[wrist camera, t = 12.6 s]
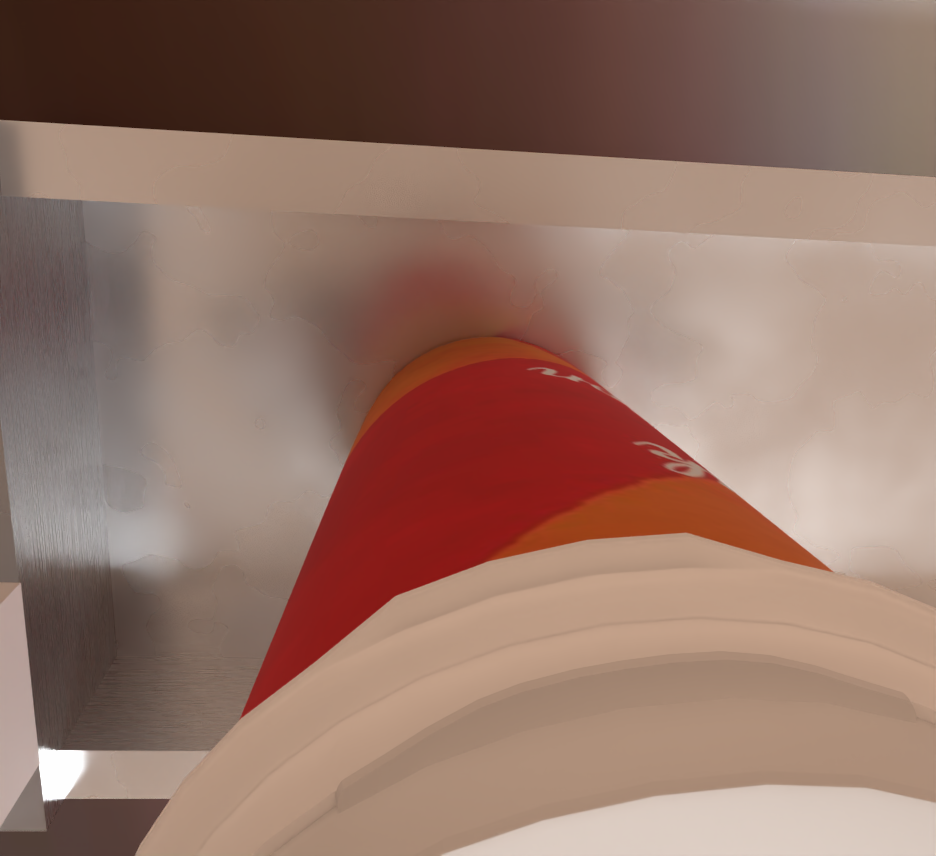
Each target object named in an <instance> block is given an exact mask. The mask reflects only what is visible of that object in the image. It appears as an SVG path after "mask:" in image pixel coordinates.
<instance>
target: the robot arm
mask: <svg viewBox="0 0 936 856" xmlns="http://www.w3.org/2000/svg"><path fill="white" fill-rule="evenodd" d="M39 764H40V763H39V753H38V743H37V734H36V724H35V714H34V705H33V695H32V686H31V676H30V666H29V657H28V647H27V637H26V628H25V618H24V609H23V599H22V589H21V583H7V582H0V827H1V825H2V824H3V822H4V820H5V819H6V817H7V816H8V814H9V812H10V811H11V809H12V807H13V806H14V804H15V803H16V801H17V799H18V798H19V796H20V794H21V793H22V791H23V790H24V788H25V786H26V785H27V783H28V782H29V780H30V778H31V777H32V775H33V773H34V772H35V770H36V769H37V767H38V765H39Z"/></svg>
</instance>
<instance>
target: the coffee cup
mask: <svg viewBox="0 0 936 856" xmlns="http://www.w3.org/2000/svg"><path fill="white" fill-rule="evenodd" d="M135 856H936V608H934V607H932V606H930V605H927V604H925V603H922V602H920V601H918V600H915V599H913V598H910V597H908V596H906V595H903V594H901V593H898V592H896V591H893V590H891V589H889V588H886V587H884V586H881V585H879V584H877V583H874V582H872V581H869V580H864V579H860V578H856V577H851V576H847V575H843V574H838V573H835V572H833V571H832V570H831V569H830V568H828V567H827V566H826V565H825V564H823V563H822V562H821V561H820V560H818V559H817V558H816V557H815V556H813V555H812V554H811V553H810V552H808V551H807V550H806V549H805V548H803V547H802V546H801V545H800V544H798V543H797V542H796V541H795V540H794V539H792V538H791V537H790V536H789V535H787V534H786V533H785V532H784V531H782V530H781V529H780V528H779V527H777V526H776V525H775V524H774V523H772V522H771V521H770V520H769V519H767V518H766V517H765V516H764V515H762V514H761V513H760V512H759V511H757V510H756V509H755V508H754V507H752V506H751V505H750V504H749V503H748V502H746V501H745V500H744V499H743V498H741V497H740V496H739V495H738V494H736V493H735V492H734V491H733V490H731V489H730V488H729V487H728V486H726V485H725V484H724V483H723V482H721V481H720V480H719V479H718V478H717V477H715V476H714V475H713V474H712V473H710V472H709V471H708V470H707V469H705V468H704V467H703V466H702V465H700V464H699V463H698V462H697V461H695V460H694V459H693V458H692V457H690V456H689V455H688V454H687V453H686V452H684V451H683V450H682V449H681V448H679V447H678V446H677V445H676V444H674V443H673V442H672V441H671V440H669V439H668V438H667V437H666V436H664V435H663V434H662V433H661V432H659V431H658V430H657V429H655V428H654V427H653V426H652V425H650V424H649V423H648V422H647V421H645V420H644V419H643V418H642V417H640V416H639V415H638V414H637V413H635V412H634V411H633V410H632V409H630V408H629V407H628V406H627V405H625V404H624V403H623V402H621V401H620V400H619V399H618V398H616V397H615V396H614V395H612V394H611V393H610V392H609V391H607V390H606V389H605V388H603V387H602V386H601V385H600V384H598V383H597V382H596V381H594V380H593V379H592V378H590V377H589V376H588V375H586V374H585V373H583V372H582V371H581V370H579V369H578V368H576V367H575V366H573V365H572V364H571V363H569V362H568V361H566V360H564V359H563V358H561V357H559V356H558V355H556V354H554V353H552V352H550V351H548V350H546V349H544V348H542V347H539V346H537V345H534V344H531V343H528V342H525V341H520V340H516V339H510V338H503V337H477V338H469V339H463V340H459V341H455V342H451V343H448V344H445V345H442V346H440V347H437V348H435V349H433V350H431V351H429V352H427V353H425V354H423V355H421V356H420V357H418V358H417V359H415V360H413V361H412V362H411V363H409V364H408V365H407V366H405V367H404V368H403V369H402V370H401V371H400V372H398V373H397V374H396V375H395V376H394V377H393V378H392V379H391V380H390V382H389V383H388V384H387V385H386V386H385V388H384V389H383V390H382V392H381V393H380V395H379V396H378V397H377V399H376V400H375V402H374V404H373V405H372V407H371V409H370V410H369V412H368V414H367V416H366V418H365V420H364V422H363V424H362V426H361V429H360V431H359V433H358V435H357V437H356V439H355V441H354V444H353V446H352V448H351V451H350V453H349V455H348V458H347V460H346V462H345V464H344V467H343V469H342V471H341V474H340V476H339V479H338V481H337V483H336V486H335V488H334V491H333V493H332V495H331V498H330V500H329V503H328V505H327V507H326V510H325V512H324V515H323V517H322V519H321V522H320V524H319V527H318V529H317V531H316V534H315V536H314V539H313V541H312V544H311V546H310V548H309V551H308V553H307V556H306V558H305V561H304V563H303V566H302V568H301V571H300V573H299V575H298V578H297V580H296V583H295V585H294V588H293V590H292V593H291V595H290V597H289V600H288V602H287V605H286V607H285V610H284V612H283V615H282V617H281V619H280V622H279V624H278V627H277V629H276V632H275V634H274V637H273V639H272V642H271V644H270V646H269V649H268V651H267V654H266V656H265V659H264V661H263V664H262V666H261V668H260V671H259V673H258V676H257V678H256V681H255V683H254V685H253V688H252V690H251V693H250V695H249V698H248V700H247V703H246V705H245V707H244V710H243V712H242V715H241V717H240V720H239V721H238V722H237V723H236V724H235V726H234V727H233V728H232V729H231V730H230V731H229V732H228V733H227V734H226V735H225V736H224V737H223V738H222V739H221V740H220V741H219V742H218V744H217V745H216V746H215V747H214V748H213V749H212V750H211V751H210V752H209V753H208V754H207V755H206V756H205V757H204V758H203V759H202V760H201V762H200V763H199V764H198V765H197V766H196V767H195V768H194V769H193V770H192V771H191V772H190V773H189V774H188V775H187V776H186V777H185V778H184V779H183V781H182V782H181V784H180V785H179V787H178V788H177V790H176V791H175V793H174V794H173V796H172V797H171V799H170V800H169V802H168V803H167V805H166V806H165V808H164V809H163V811H162V813H161V814H160V816H159V817H158V819H157V820H156V822H155V823H154V825H153V826H152V828H151V829H150V831H149V832H148V834H147V835H146V837H145V838H144V840H143V841H142V843H141V844H140V846H139V848H138V850H137V853H136V855H135Z"/></svg>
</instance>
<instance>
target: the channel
mask: <svg viewBox="0 0 936 856" xmlns="http://www.w3.org/2000/svg"><path fill="white" fill-rule="evenodd" d="M477 337H503V338H510V339H516V340H520V341H525V342H528V343H531V344H534V345H537V346H539V347H542V348H544V349H546V350H548V351H550V352H552V353H554V354H556V355H558V356H559V357H561V358H563V359H564V360H566V361H568V362H569V363H571V364H572V365H573V366H575V367H576V368H578V369H579V370H581V371H582V372H583V373H585V374H586V375H588V376H589V377H590V378H592V379H593V380H594V381H596V382H597V383H598V384H600V385H601V386H602V387H603V388H605V389H606V390H607V391H609V392H610V393H611V394H612V395H614V396H615V397H616V398H618V399H619V400H620V401H621V402H623V403H624V404H625V405H627V406H628V407H629V408H630V409H632V410H633V411H634V412H635V413H637V414H638V415H639V416H640V417H642V418H643V419H644V420H645V421H647V422H648V423H649V424H650V425H652V426H653V427H654V428H655V429H657V430H658V431H659V432H661V433H662V434H663V435H664V436H666V437H667V438H668V439H669V440H671V441H672V442H673V443H674V444H676V445H677V446H678V447H679V448H681V449H682V450H683V451H684V452H686V453H687V454H688V455H689V456H690V457H692V458H693V459H694V460H695V461H697V462H698V463H699V464H700V465H702V466H703V467H704V468H705V469H707V470H708V471H709V472H710V473H712V474H713V475H714V476H715V477H717V478H718V479H719V480H720V481H721V482H723V483H724V484H725V485H726V486H728V487H729V488H730V489H731V490H733V491H734V492H735V493H736V494H738V495H739V496H740V497H741V498H743V499H744V500H745V501H746V502H748V503H749V504H750V505H751V506H752V507H754V508H755V509H756V510H757V511H759V512H760V513H761V514H762V515H764V516H765V517H766V518H767V519H769V520H770V521H771V522H772V523H774V524H775V525H776V526H777V527H779V528H780V529H781V530H782V531H784V532H785V533H786V534H787V535H789V536H790V537H791V538H792V539H794V540H795V541H796V542H797V543H798V544H800V545H801V546H802V547H803V548H805V549H806V550H807V551H808V552H810V553H811V554H812V555H813V556H815V557H816V558H817V559H818V560H820V561H821V562H822V563H823V564H825V565H826V566H827V567H828V568H830V569H831V570H832V571H833V572H835V573H838V574H843V575H847V576H851V577H856V578H860V579H864V580H869V581H872V582H874V583H877V584H879V585H881V586H884V587H886V588H889V589H891V590H893V591H896V592H898V593H901V594H903V595H906V596H908V597H910V598H913V599H915V600H918V601H920V602H922V603H925V604H927V605H930V606H932V607H934V608H936V177H927V176H911V175H894V174H878V173H862V172H845V171H829V170H812V169H796V168H780V167H763V166H747V165H730V164H714V163H698V162H681V161H665V160H648V159H632V158H616V157H599V156H583V155H567V154H550V153H534V152H517V151H501V150H485V149H468V148H452V147H435V146H419V145H403V144H386V143H370V142H353V141H337V140H321V139H304V138H288V137H271V136H255V135H239V134H222V133H206V132H190V131H173V130H157V129H140V128H124V127H108V126H91V125H75V124H58V123H42V122H26V121H9V120H0V582H7V583H21V589H22V599H23V609H24V618H25V628H26V637H27V647H28V657H29V666H30V676H31V686H32V695H33V705H34V714H35V724H36V734H37V743H38V753H39V763H40V764H39V765H38V767H37V769H36V770H35V772H34V773H33V775H32V777H31V778H30V780H29V782H28V783H27V785H26V786H25V788H24V790H23V791H22V793H21V794H20V796H19V798H18V799H17V801H16V803H15V804H14V806H13V807H12V809H11V811H10V812H9V814H8V816H7V817H6V819H5V820H4V822H3V824H2V825H1V827H0V831H47V830H48V828H49V826H50V824H51V822H52V821H53V819H54V817H55V815H56V813H57V812H58V810H59V808H60V806H61V804H62V802H63V801H64V799H171V797H172V796H173V794H174V793H175V791H176V790H177V788H178V787H179V785H180V784H181V782H182V781H183V779H184V778H185V777H186V776H187V775H188V774H189V773H190V772H191V771H192V770H193V769H194V768H195V767H196V766H197V765H198V764H199V763H200V762H201V760H202V759H203V758H204V757H205V756H206V755H207V754H208V753H209V752H210V751H211V750H212V749H213V748H214V747H215V746H216V745H217V744H218V742H219V741H220V740H221V739H222V738H223V737H224V736H225V735H226V734H227V733H228V732H229V731H230V730H231V729H232V728H233V727H234V726H235V724H236V723H237V722H238V721H239V720H240V717H241V715H242V712H243V710H244V707H245V705H246V703H247V700H248V698H249V695H250V693H251V690H252V688H253V685H254V683H255V681H256V678H257V676H258V673H259V671H260V668H261V666H262V664H263V661H264V659H265V656H266V654H267V651H268V649H269V646H270V644H271V642H272V639H273V637H274V634H275V632H276V629H277V627H278V624H279V622H280V619H281V617H282V615H283V612H284V610H285V607H286V605H287V602H288V600H289V597H290V595H291V593H292V590H293V588H294V585H295V583H296V580H297V578H298V575H299V573H300V571H301V568H302V566H303V563H304V561H305V558H306V556H307V553H308V551H309V548H310V546H311V544H312V541H313V539H314V536H315V534H316V531H317V529H318V527H319V524H320V522H321V519H322V517H323V515H324V512H325V510H326V507H327V505H328V503H329V500H330V498H331V495H332V493H333V491H334V488H335V486H336V483H337V481H338V479H339V476H340V474H341V471H342V469H343V467H344V464H345V462H346V460H347V458H348V455H349V453H350V451H351V448H352V446H353V444H354V441H355V439H356V437H357V435H358V433H359V431H360V429H361V426H362V424H363V422H364V420H365V418H366V416H367V414H368V412H369V410H370V409H371V407H372V405H373V404H374V402H375V400H376V399H377V397H378V396H379V395H380V393H381V392H382V390H383V389H384V388H385V386H386V385H387V384H388V383H389V382H390V380H391V379H392V378H393V377H394V376H395V375H396V374H397V373H398V372H400V371H401V370H402V369H403V368H404V367H405V366H407V365H408V364H409V363H411V362H412V361H413V360H415V359H417V358H418V357H420V356H421V355H423V354H425V353H427V352H429V351H431V350H433V349H435V348H437V347H440V346H442V345H445V344H448V343H451V342H455V341H459V340H463V339H469V338H477Z"/></svg>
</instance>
